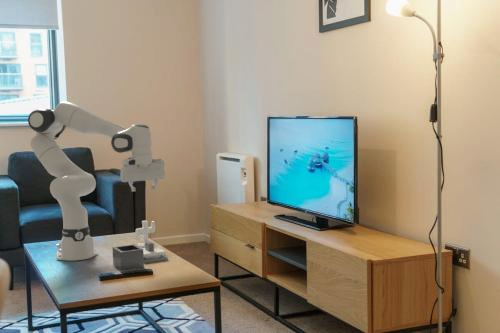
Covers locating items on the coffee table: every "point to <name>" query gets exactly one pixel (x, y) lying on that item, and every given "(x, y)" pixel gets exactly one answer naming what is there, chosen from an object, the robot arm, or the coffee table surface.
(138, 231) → the figurine
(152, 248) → the lid
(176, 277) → the coffee table surface
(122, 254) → the tin box
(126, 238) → the coffee table surface
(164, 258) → the slate mat
